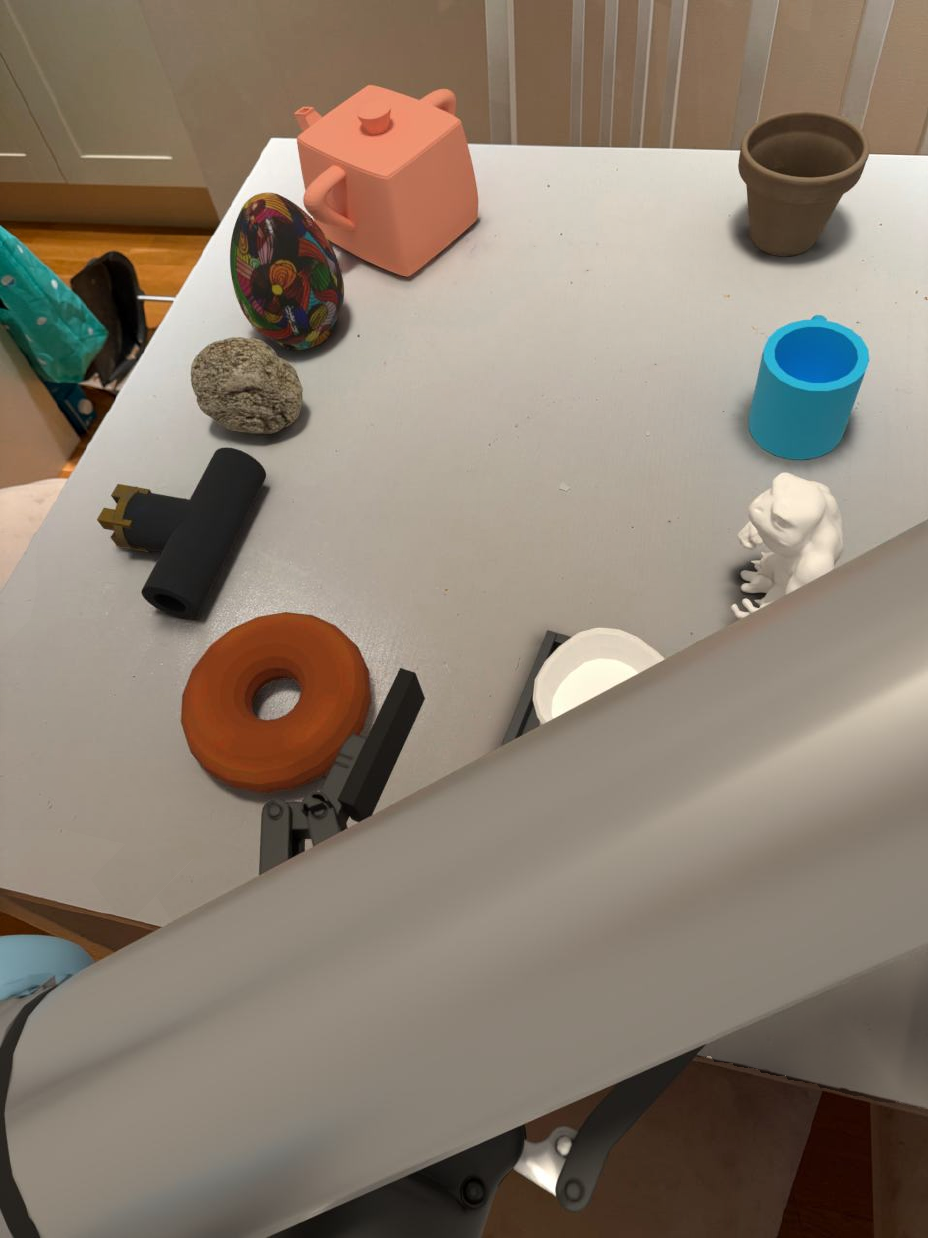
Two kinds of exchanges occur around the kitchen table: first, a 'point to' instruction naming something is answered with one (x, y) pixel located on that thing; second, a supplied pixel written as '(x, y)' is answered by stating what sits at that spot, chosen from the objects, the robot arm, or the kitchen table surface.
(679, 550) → the kitchen table surface
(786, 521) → the figurine
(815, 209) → the flower pot
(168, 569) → the pipe connector
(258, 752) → the donut
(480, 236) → the kitchen table surface
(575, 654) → the cup
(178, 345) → the kitchen table surface
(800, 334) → the mug
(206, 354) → the stone
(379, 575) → the kitchen table surface
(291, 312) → the egg
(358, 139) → the teapot
